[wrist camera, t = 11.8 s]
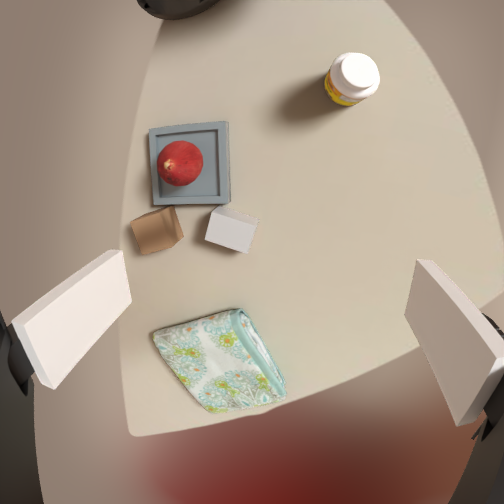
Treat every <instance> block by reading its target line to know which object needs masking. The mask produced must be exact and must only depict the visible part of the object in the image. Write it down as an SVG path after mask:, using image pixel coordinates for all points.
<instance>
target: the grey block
mask: <svg viewBox="0 0 504 504" xmlns="http://www.w3.org/2000/svg"><path fill="white" fill-rule="evenodd" d="M258 223H259V218H256V217H253V216H250V215H247V214H244V213H241V212H238V211H234V210H231V209H228V208H225V207H222V206H218V207H217V208H216V209H214V210H213V211H212V213H211V217H210V221H209V225H208V228H207V232H206V236H205V240H207V241H210V242H213V243H216V244H219V245H222V246H225V247H228V248H231V249H234V250H237V251H240V252H243V253H246V254H248V251H249V249H250V247H251V244H252V241H253V238H254V235H255V232H256V229H257V226H258Z"/></svg>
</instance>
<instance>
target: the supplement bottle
mask: <svg viewBox="0 0 504 504" xmlns="http://www.w3.org/2000/svg"><path fill="white" fill-rule="evenodd" d="M379 80H380V79H379V72H378V69H377V66H376V64H375V63H374V61H373V60H372V59H371V58H369V57H368V56H366V55H364V54H361V53H345V54H342V55H340V56H338V57H337V58H336V59H335V60H334V61H333V63H332V65H331V67H330V69H329V71H328V73H327V75H326V78H325V81H324V87H325V91H326V93H327V95H328V97H329V98H330V99H331V100H332V101H333V102H335V103H337V104H339V105H342V106H352V105H355V104H357V103H359V102H361V101H362V100H364V99H366V98H367V97H369V96H371V95H372V94H373V93H374V92H375V91H376V90H377V88H378V85H379Z"/></svg>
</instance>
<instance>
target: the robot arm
mask: <svg viewBox="0 0 504 504" xmlns="http://www.w3.org/2000/svg"><path fill="white" fill-rule="evenodd" d="M218 1H219V0H137V2H138V4H139V5H140V6H141V7H142V8H143V9H144V10H145V11H147V12H148V13H149V14H151V15H152V16H154V17H157V18H160V19H167V20H175V19H182V18H187V17H190V16H194V15H196V14H199V13H201V12H203V11H205V10H207V9H208V8H210V7H212V6H213V5H214V4H216V3H217V2H218ZM131 303H132V299H131V294H130V289H129V284H128V280H127V274H126V269H125V264H124V258H123V252H122V250H108V251H107V252H105V253H104V254H102V255H101V256H99V257H98V258H96V259H95V260H93V261H92V262H90V263H89V264H87V265H86V266H84V267H83V268H81V269H80V270H79V271H77V272H76V273H74V274H73V275H71V276H70V277H69V278H67V279H66V280H64V281H63V282H62V283H60V284H59V285H58V286H56V287H55V288H53V289H52V290H51V291H50V292H48V293H47V294H45V295H44V296H43V297H41V298H40V299H39V300H37V301H36V302H35V303H33V304H32V305H31V306H30V307H28V308H27V309H26V310H24V311H23V312H22V313H21V314H19V315H18V316H17V317H16V318H14V319H13V320H12V323H11V324H10V325H9V326H8V327H7V326H6V324H5V322H4V319H3V317H2V314H1V311H0V504H44V502H43V498H42V492H41V487H40V481H39V474H38V466H37V457H36V447H35V433H34V383H33V380H32V378H31V375H32V374H33V373H34V372H35V373H36V375H37V377H38V378H39V380H40V382H41V384H43V385H45V386H47V387H50V388H52V389H54V390H55V389H56V387H57V386H58V385H59V384H60V383H61V381H62V380H63V379H64V378H65V377H66V376H67V374H68V373H69V372H70V371H71V370H72V368H73V367H74V366H75V365H76V364H77V363H78V361H79V360H80V359H81V358H82V357H83V356H84V355H85V353H86V352H87V351H88V350H89V349H90V347H92V345H93V344H94V343H95V342H96V341H97V340H98V339H99V338H100V336H101V335H102V334H103V333H104V332H105V331H106V330H107V328H108V327H109V326H110V325H111V324H112V323H113V322H114V321H115V320H116V319H117V318H118V317H119V315H120V314H121V313H122V312H123V311H124V310H125V309H126V308H127V307H128V306H129V305H130V304H131ZM404 315H405V317H406V319H407V321H408V323H409V325H410V326H411V328H412V330H413V332H414V334H415V336H416V338H417V340H418V342H419V344H420V346H421V348H422V350H423V352H424V354H425V356H426V358H427V360H428V362H429V364H430V366H431V368H432V371H433V373H434V375H435V377H436V379H437V381H438V384H439V386H440V388H441V390H442V392H443V395H444V397H445V400H446V402H447V404H448V407H449V409H450V411H451V414H452V416H453V419H454V422H455V424H456V426H461V425H464V424H468V423H472V422H474V421H475V420H476V419H477V418H478V416H479V415H480V413H481V412H482V410H483V409H484V411H485V413H486V415H487V417H486V419H485V420H484V421H483V423H482V424H481V426H480V427H479V428H478V430H477V431H476V432H475V433H474V435H473V437H472V438H471V439H473V440H474V438H475V437H476V436H477V435H478V434H479V435H478V438H477V441H476V443H475V446H474V448H473V451H472V454H471V456H470V459H469V461H468V464H467V466H466V468H465V470H464V473H463V475H462V477H461V479H460V481H459V483H458V485H457V488H456V489H455V492H454V493H453V496H452V497H451V499H450V501H449V503H448V504H504V333H503V332H502V331H501V330H499V327H498V326H497V325H496V324H495V322H494V321H493V320H492V319H491V318H489V317H488V316H486V315H485V314H483V313H481V312H480V311H479V310H478V308H477V307H476V306H475V305H474V304H473V303H472V302H471V301H470V300H469V298H468V297H467V296H466V295H465V294H464V293H463V292H462V291H461V290H460V289H459V288H458V287H457V285H456V284H455V283H454V282H453V281H452V280H451V279H450V278H449V277H448V276H447V275H446V274H445V273H444V272H443V271H442V270H441V269H440V268H439V267H438V266H437V265H436V264H435V263H434V262H433V261H432V260H420V259H416V265H415V270H414V275H413V280H412V285H411V289H410V294H409V298H408V302H407V306H406V310H405V314H404Z"/></svg>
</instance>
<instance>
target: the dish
mask: <svg viewBox="0 0 504 504" xmlns="http://www.w3.org/2000/svg"><path fill="white" fill-rule="evenodd" d="M182 140H183V141H187V142H190V143H193V144H194V145H195V146H196V147H198V148H199V149H200V151H201V154H202V156H203V168H202V171H201V173H200V175H199V176H198V177H197V178H196V180H195V181H193V182H192V183H190V184H188V185H186V186H173V185H170V184H168V183H166V182H165V181H164V180H163V179H162V178H161V177H160V175H159V173H158V170H157V159H158V156H159V153H160V152H161V151H162V149H163V148H164V147H165V146H166V145H168V144H170V143H172V142H174V141H182ZM149 145H150V163H151V178H152V190H153V201H154V205H166V204H219V203H229V202H230V201H231V191H230V162H229V127H228V122H227V121H220V122H206V123H195V124H185V125H176V126H168V127H160V128H153V129H149Z"/></svg>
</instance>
